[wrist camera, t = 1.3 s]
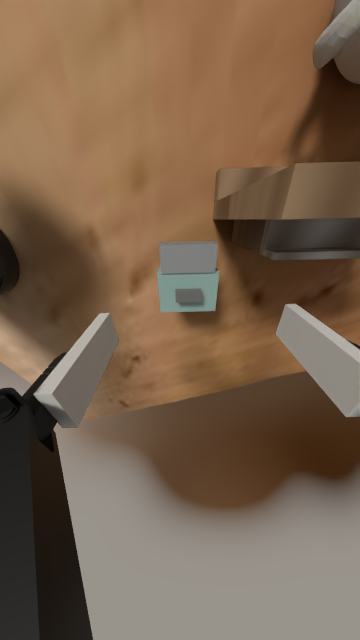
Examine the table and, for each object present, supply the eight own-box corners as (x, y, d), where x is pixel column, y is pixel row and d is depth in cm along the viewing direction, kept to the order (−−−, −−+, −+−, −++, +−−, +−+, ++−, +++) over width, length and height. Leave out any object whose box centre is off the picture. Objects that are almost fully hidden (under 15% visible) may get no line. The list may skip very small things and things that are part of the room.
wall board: (211, 242, 25) (265, 280, 9) (216, 172, 20) (329, 35, 5) (343, 239, 25) (613, 271, 9) (375, 168, 20) (968, 15, 5)
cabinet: (165, 291, 29) (160, 322, 20) (161, 237, 24) (152, 246, 16) (205, 290, 29) (216, 320, 20) (208, 235, 24) (225, 244, 16)
